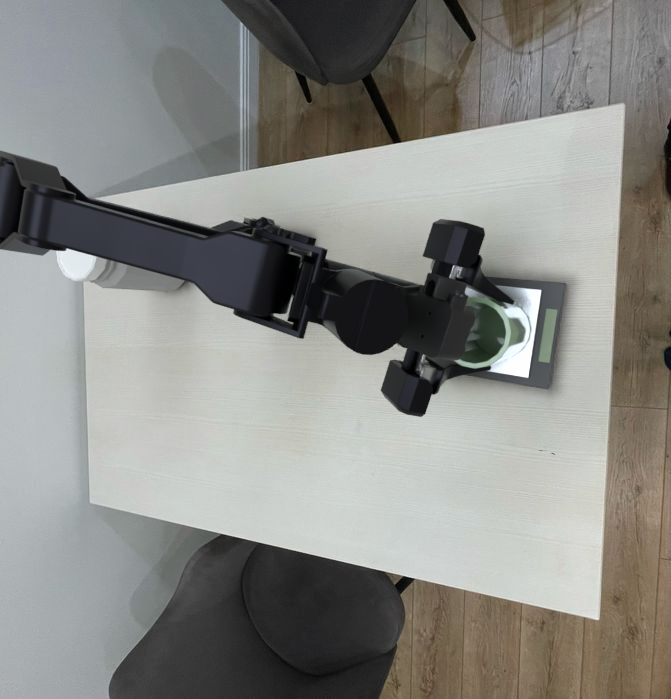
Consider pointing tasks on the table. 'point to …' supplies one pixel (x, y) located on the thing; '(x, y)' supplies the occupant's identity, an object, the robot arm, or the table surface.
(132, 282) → the jar
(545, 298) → the scale
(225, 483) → the table surface
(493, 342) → the tumbler
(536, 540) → the table surface
